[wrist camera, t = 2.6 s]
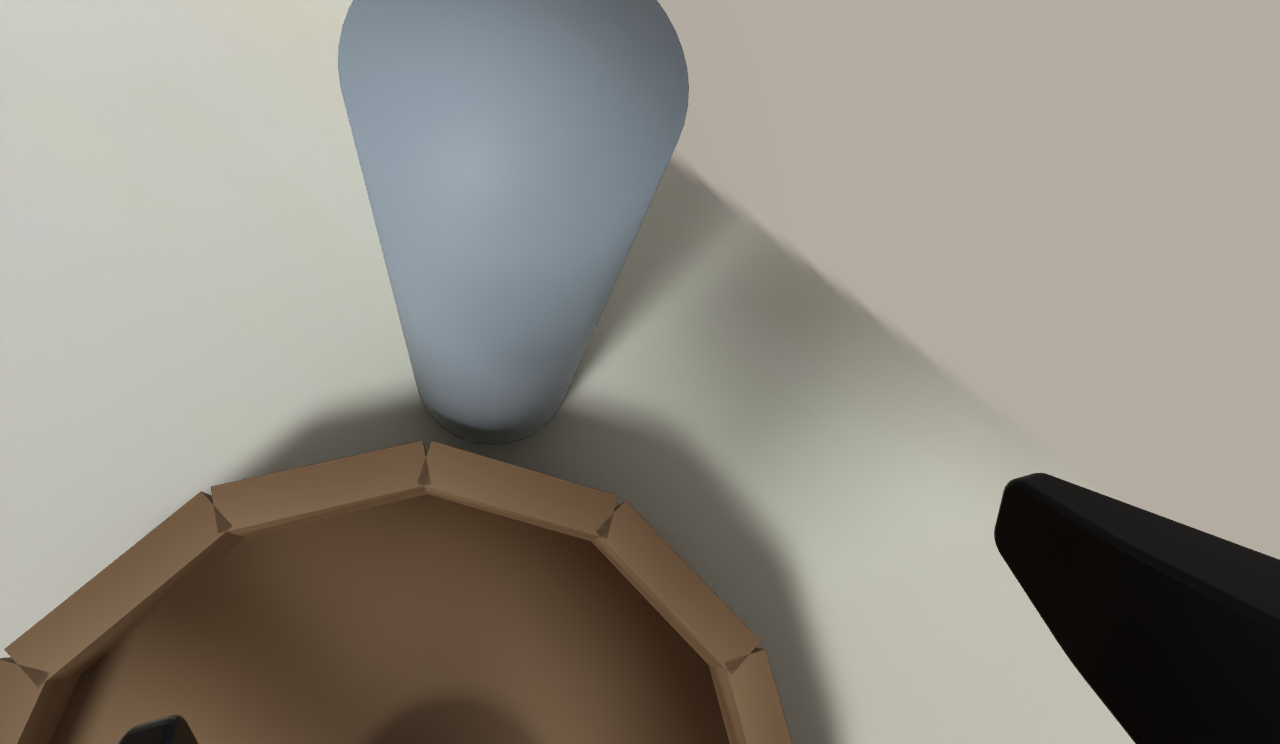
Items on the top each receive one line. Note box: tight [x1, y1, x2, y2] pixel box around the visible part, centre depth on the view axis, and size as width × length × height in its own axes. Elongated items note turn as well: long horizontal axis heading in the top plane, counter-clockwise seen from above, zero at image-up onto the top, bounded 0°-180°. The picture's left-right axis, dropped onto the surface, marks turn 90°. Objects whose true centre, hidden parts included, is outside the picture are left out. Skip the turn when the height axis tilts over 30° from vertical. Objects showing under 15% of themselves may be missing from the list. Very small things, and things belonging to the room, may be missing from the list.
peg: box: [338, 0, 689, 444], centre depth 16 cm, size 4×4×13 cm
